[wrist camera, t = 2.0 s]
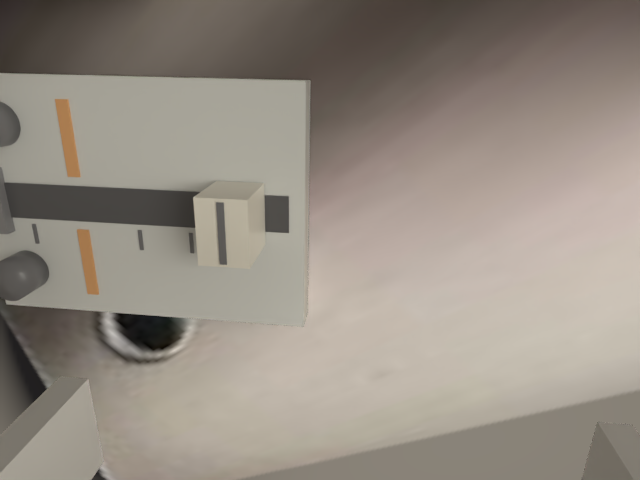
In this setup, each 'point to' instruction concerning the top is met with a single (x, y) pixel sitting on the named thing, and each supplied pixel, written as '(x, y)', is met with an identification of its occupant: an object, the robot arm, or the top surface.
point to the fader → (230, 224)
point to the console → (150, 193)
